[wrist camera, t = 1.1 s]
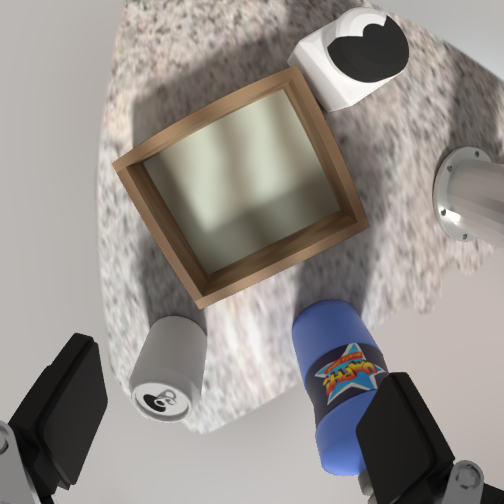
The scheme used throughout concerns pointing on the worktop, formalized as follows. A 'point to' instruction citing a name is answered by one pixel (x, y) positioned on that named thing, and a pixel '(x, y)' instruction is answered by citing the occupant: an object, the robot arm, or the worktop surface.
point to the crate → (244, 187)
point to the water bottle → (338, 382)
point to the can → (169, 370)
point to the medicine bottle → (351, 57)
